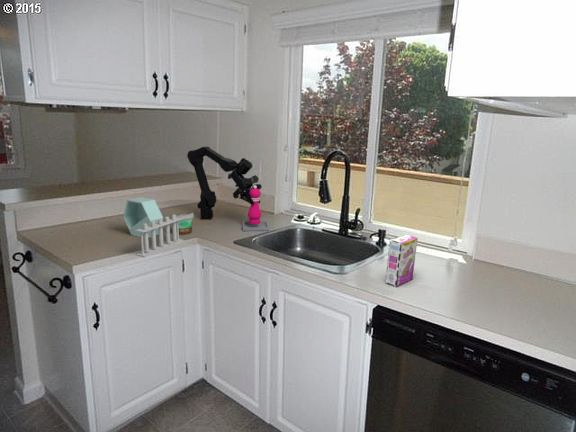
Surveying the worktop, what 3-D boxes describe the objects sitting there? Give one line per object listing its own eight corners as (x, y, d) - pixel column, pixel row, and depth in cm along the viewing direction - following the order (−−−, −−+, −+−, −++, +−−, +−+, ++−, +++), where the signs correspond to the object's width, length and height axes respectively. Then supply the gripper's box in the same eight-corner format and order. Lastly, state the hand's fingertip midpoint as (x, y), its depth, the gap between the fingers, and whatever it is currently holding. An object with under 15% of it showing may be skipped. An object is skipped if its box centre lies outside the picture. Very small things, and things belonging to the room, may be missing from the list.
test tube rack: (144, 257, 161) (142, 226, 157) (136, 256, 162) (134, 225, 159) (184, 241, 183) (182, 213, 180) (176, 240, 184) (175, 212, 181)
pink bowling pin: (261, 221, 210) (262, 184, 205) (261, 224, 203) (261, 186, 198) (248, 220, 210) (248, 183, 205) (247, 224, 203) (247, 186, 198)
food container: (176, 237, 188) (175, 216, 186) (170, 234, 193) (169, 214, 190) (199, 232, 196) (198, 213, 194) (193, 230, 201) (192, 211, 198)
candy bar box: (396, 287, 137) (401, 243, 133) (384, 283, 141) (388, 239, 137) (413, 279, 145) (418, 237, 141) (401, 275, 148) (405, 234, 144)
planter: (136, 245, 189) (117, 207, 190) (149, 241, 196) (131, 204, 197) (155, 231, 180) (136, 191, 181) (168, 227, 186) (149, 189, 188)
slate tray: (242, 231, 201) (242, 227, 200) (242, 224, 213) (242, 221, 213) (268, 231, 202) (268, 227, 202) (267, 224, 215) (267, 221, 214)
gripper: (237, 172, 194) (255, 197, 191) (259, 168, 210) (276, 191, 207) (225, 186, 200) (242, 210, 197) (247, 181, 216) (263, 204, 213)
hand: (256, 203), depth 203 cm, fingers closed on pink bowling pin, 5 cm apart
